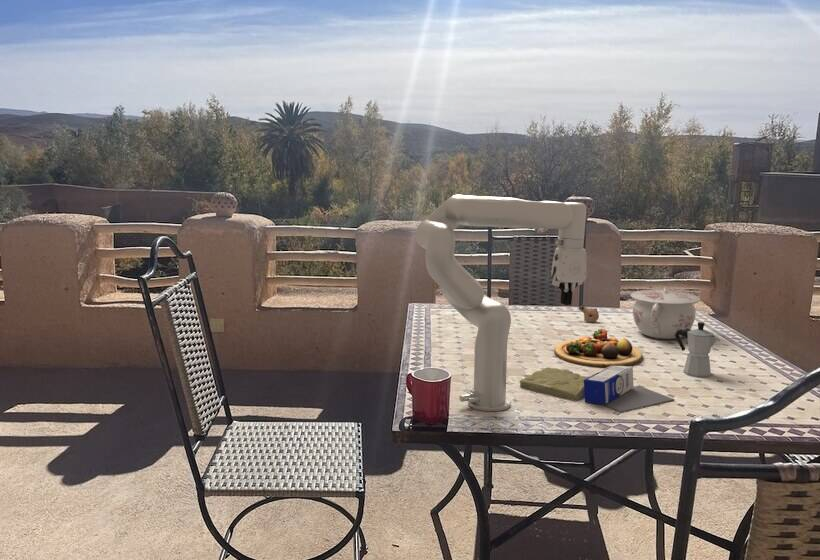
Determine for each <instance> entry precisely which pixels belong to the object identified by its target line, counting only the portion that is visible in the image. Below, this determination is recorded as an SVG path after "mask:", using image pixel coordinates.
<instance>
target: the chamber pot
mask: <svg viewBox="0 0 820 560" xmlns="http://www.w3.org/2000/svg"><path fill="white" fill-rule="evenodd" d="M629 296H630V297H632V299H634V300H635V302H634V304H633V306H632V316H633V322H634V324H635V325H636V327H637V329H638V331H640V333H641V334H642V335H644V336H647V337H649V338H652V339H658V340H671V341H672V340H677V339H676V337H675V333H676V332H677V330H680V329H683V330H684V329H687V328H689V329H691V330H692V328H693V326H694V322H695V320H696V312H697V311H696V307H695V306H694V304H697V303H699V302H701V298H700V297H699V296H697V295H694V294H692V293H688V292H683V291H678V290H671V289H668V287H667V286H664V288H663V289H644V290H643V289H641V290H637V291H633V292H631V293H630V295H629ZM679 337H680V339H681V338H683V336H682V335H679Z"/></svg>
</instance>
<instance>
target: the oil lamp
mask: <svg viewBox="0 0 820 560" xmlns="http://www.w3.org/2000/svg"><path fill="white" fill-rule="evenodd" d="M578 310H579V311H581V312H582V313H583V320H584V321H585V322H588V323H593V324H594V323H596V322H597V321H599V319H600V318H599V317H600V315H599V311H598V309H597V308H595V307H594V308H590V307H589V308H588V307H587V306H585V305H584V304H581V305H579V307H578Z"/></svg>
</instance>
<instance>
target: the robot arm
mask: <svg viewBox="0 0 820 560" xmlns="http://www.w3.org/2000/svg"><path fill="white" fill-rule="evenodd" d="M586 217H587V205H586V204H585V203H583V202H577V201H576V202H575V201H573V202H572V201H566V202H561V201H555V200H554V201H553V200H542V201H534V200H525V199H520V198H516V197H507V196H506V197H504V196H482V195H478V196H477V195H467V194H466V195H465V194H454V195H452V196H450V197H449V198H447V199H446V200H444V201H443V202H442V203H441V204H440V205H439V206H438V207H436V208H435V210H433V212H431V213H429V215H427V216H426V217H425V218H424V219H423V220H422V221H421V222H420V223H419V224H418V225H417V227H416V228H415V229H416V230H415V234H414V235H415V236H414V237H415V241H416V243H417V245H418V246H419V247H421V248H423V249H425V258H424V259H425V266H426V271H427V273H428V275H429V276H430V277H431V278H432V280H433V281H434V282H435V283H436V285H438V286H439V287H440V291H441V295H442V296H443V297H444V299H445V300H446V302H447V303H449V305H450V306H451V307H453V308H454V309H455V311H457V312H458V313H459V314H460V315H461V316H462V317H463V318H464V319H465V320H466V321H467V322H469V323H470V324H471V325H473V326H474V327H477V333H476V337H475V340H474V353H473V354H474V364H473V365H474V366H473V367H474V368H473V369H474V371H473V388H471V389H470V392H468V394H467V393H466V394H461V395H459V401H460V402H461V403H462V402H467V403H468V405H469V406H470V407H471V408H474V410H475V409H476V410H478V411H484V412H485V411H486V412H500V411H505V410H507V409H509V408H510V407H511V405H512V404H511V403H512V400H511V399H510V398H508V397H507V372H508V371H507V370H508V369H507V368H508V367H507V366H508V365H507V364H508V363H507V362H508V341H509V333H510V329H511V322H512V317H511V312H510V310H509V309H508V308H507V306H506V305H505V304H503V303H502V302H501V301H498V300H496V299H494V298H492V297H489V296H488V295H486V294H485V292H484V291H485V290H484V289H483V286H482V285H481V283H480V282H479V281H478V280H477V278H475V277H474V276H472V275H471V273H469V271H467V269H466V268H464V267H463V266H462V264H461V263H460V262H459V261H458V259H456V256H455V245H456V234H455V232H454V230H455V229H457V228H458V227H459V226H460V225H461V226H467V227H489V228H492V227H493V228H495V227H496V228H513V229H518V228H522V229H523V228H524V229H526V228H527V229H528V228H529V229H552V230H558V235H557V236H558V237H557V240H555V242H554V244H555V245H557V247H556V248H555V250H554V254H553V258H552V265H551V273H550V275H551V279H552V281H551V285H553V286H554V287H557V288H558V290H559V292H560V304H561V305H564V306H572V301H573V293H574V292H575V290H576V288H577V287H578V286H581V285H583V283H584V282H586V279H587V274H588V273H587V269H588V268H587V267H588V263H587V262H588V261H587V258H588V257H587V252H586V248H584V245H585V244H584V243H585V242H584V241H585V231H586V219H587V218H586Z"/></svg>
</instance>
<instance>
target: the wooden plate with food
mask: <svg viewBox="0 0 820 560" xmlns="http://www.w3.org/2000/svg"><path fill="white" fill-rule="evenodd" d="M553 352H554V355H555V356H556V357H557V358H559V359H561V360H563V361H565V362H567V363H571V364H575V365H578V366H583V367H591V368H601V369H602V368H603V369H606V368H608V367H610V366H628V367H632V366H635V365H637V364H639V363H640V362H641V361H642V360H643V352H642V351H641V350H640V349H638V348H637V347H636V346H634V345H632V343H631V341H630V340H628V339H627V338H625V337H623V338H621V339H620V340H618V338H616V337H608V332H607V330H606V329H605V328H598V330H594V333H592V336H587V335H584V336H583V335H582V336H580V337H579V338H577V339H572V340H566V341H563V342H562V341H561V342H560V343H558V344H557V345H556V346H555V347H554V349H553ZM631 365H632V366H631Z"/></svg>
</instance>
